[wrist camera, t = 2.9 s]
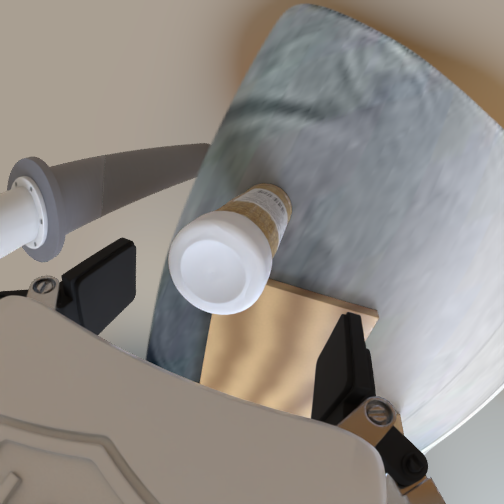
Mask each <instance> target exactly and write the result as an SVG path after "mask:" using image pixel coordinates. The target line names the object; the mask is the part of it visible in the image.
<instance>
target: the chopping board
mask: <svg viewBox="0 0 504 504" xmlns="http://www.w3.org/2000/svg"><path fill="white" fill-rule="evenodd" d="M347 312H351V313H354V314H358V315H360V316H361V320H362V326H363V332H364V338H365V341H366V339H367V338H368V336H369V334H370V333H371V331H372V329H373V328H374V326H375V324H376V323H377V321H378V319H379V316H378V312H377V310H373V309H370V308H366V307H363V306H359V305H356V304H353V303H349V302H346V301H342V300H339V299H335V298H332V297H329V296H325V295H322V294H318V293H315V292H312V291H308V290H305V289H302V288H298V287H295V286H292V285H288V284H285V283H282V282H279V281H275V280H272V279H269V278H268V281H267V283H266V285H265V287H264V290H263V292H262V294H261V295H260V297H259V298H258V300H257V301H256V302H255V303H254V304H253V305H252V306H250V307H249V308H247V309H246V310H244V311H241V312H238V313H235V314H229V315H219V314H213V313H212V317H211V322H210V327H209V333H208V338H207V344H206V349H205V355H204V361H203V367H202V372H201V378H200V384H201V385H204V386H207V387H209V388H212V389H215V390H217V391H220V392H223V393H226V394H229V395H232V396H235V397H238V398H241V399H244V400H247V401H250V402H253V403H257V404H260V405H263V406H267V407H270V408H273V409H277V410H280V411H284V412H288V413H291V414H295V415H299V416H303V417H307V418H311V412H312V402H313V392H314V381H315V369H316V362H317V359H318V357H319V355H320V353H321V352H322V350H323V348H324V346H325V344H326V343H327V341H328V339H329V337H330V335H331V333H332V331H333V329H334V328H335V326H336V324H337V322H338V320H339V318H340V316H341V315H342V314H346V313H347Z"/></svg>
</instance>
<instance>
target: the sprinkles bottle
mask: <svg viewBox="0 0 504 504" xmlns="http://www.w3.org/2000/svg"><path fill="white" fill-rule="evenodd" d="M291 213H292V207H291V202H290V199H289V197H288V196H287V194H286V193H285V192H284V191H283V190H282V189H281V188H279V187H277V186H275V185H273V184H266V183H263V184H257V185H255V186H253V187H251V188H250V189H248V190H247V191H246V192H245V193H243V194H240V195H238V196H237V197H235V198H233V199H232V200H230V201H229V202H228V203H227V204H225V205H224V206H222V207H221V208H219V209H217V210H216V211H213V212H209V213H206V214H204V215H202V216H200V217H198V218H197V219H195V220H194V221H192V222H190V223H189V224H188V225H186V226H185V227H184V228H183V229H181V230H180V231H179V232H178V234H177V235H176V237H175V238H174V240H173V242H172V244H171V246H170V250H169V256H168V265H169V271H170V275H171V277H172V280H173V282H174V284H175V286H176V288H177V289H178V291H179V292H180V293H181V294H182V296H183V297H184V298H185V299H186V300H188V301H189V302H190V303H191V304H192V305H194V306H195V307H197V308H199V309H201V310H203V311H206V312H209V313H213V314H219V315H229V314H235V313H238V312H241V311H244V310H246V309H247V308H249V307H250V306H252V305H253V304H254V303H255V302H256V301H257V300H258V298H259V297H260V295H261V294H262V292H263V290H264V287H265V285H266V283H267V281H268V278H269V275H270V272H271V267H272V259H273V257H274V255H275V253H276V251H277V249H278V247H279V244H280V242H281V239H282V237H283V234H284V232H285V229H286V226H287V224H288V222H289V220H290V218H291Z"/></svg>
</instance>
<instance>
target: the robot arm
mask: <svg viewBox="0 0 504 504" xmlns="http://www.w3.org/2000/svg"><path fill="white" fill-rule="evenodd" d="M47 232H48V218H47V211H46V206H45V202H44V199H43V196H42V194H41V191H40V189H39V188H38V186H37V184H36V183H35V182H34V180H32V179H31V178H30V177H28V176H22V177H19V178H17V179H16V180H15V181H14V182H13V185H12V187H11V190H8V191H6V192H3V193H0V258H2V257H4V256H6V255H7V254H9V253H11V252H12V251H14V250H16V249H18V248H20V247H21V246H23V245H26V246H27V247H29V248H31V249H36V248H39V247H40V246H42V245H43V244H44V242H45V240H46V237H47ZM135 295H136V246H135V245H134V243H133V241H130V240H128V239H125V238H120V239H118V240H117V241H115V242H113V243H112V244H110V245H108V246H107V247H105V248H103V249H102V250H100V251H99V252H97V253H95V254H94V255H92V256H91V257H89V258H87V259H86V260H84V261H83V262H81V263H80V264H78V265H77V266H75V267H74V268H72V269H71V270H69V271H67V272H66V273H65V274H63V275H62V281H61V282H60V283H59V281H58V279H57V278H55V277H53V276H41V277H38V278H36V279H35V280H34V281H33V282H32V283H31V284H30V287H29V290H17V291H2V292H0V504H446V503H445V501H444V500H443V498H442V496H441V494H440V492H439V491H438V489H437V487H436V486H435V483H434V482H433V480H432V478H431V477H430V478H427V477H426V473H427V469H428V463H427V460H426V457H425V456H424V455H423V453H422V452H421V451H420V450H418V449H417V448H416V447H415V446H414V445H413V444H412V443H411V442H410V441H409V440H408V439H407V438H406V437H405V436H404V435H403V434H402V433H401V432H400V431H399V430H398V429H397V428H396V427H395V426H394V423H395V421H396V411H395V409H394V407H393V405H392V404H391V403H390V402H389V401H387V400H386V399H384V398H381V397H377V396H376V393H375V384H374V376H373V368H372V361H371V354H370V351H369V349H366V345H365V338H364V332H363V326H362V320H361V316H360V315H358V314H354V313H351V312H347V313H346V314H342V315H341V316H340V318H339V320H338V322H337V324H336V326H335V328H334V329H333V331H332V333H331V335H330V337H329V339H328V341H327V343H326V344H325V346H324V348H323V350H322V352H321V353H320V355H319V357H318V359H317V362H316V369H315V381H314V392H313V402H312V412H311V419H310V418H307V417H303V416H299V415H295V414H291V413H288V412H284V411H280V410H277V409H273V408H270V407H267V406H263V405H260V404H257V403H253V402H250V401H247V400H244V399H241V398H238V397H235V396H232V395H229V394H226V393H223V392H220V391H217V390H215V389H212V388H209V387H207V386H204V385H201V384H199V383H196V382H194V381H191V380H189V379H186V378H184V377H181V376H179V375H177V374H174V373H172V372H170V371H167V370H165V369H163V368H161V367H159V366H156V365H154V364H152V363H150V362H148V361H146V360H144V359H141V358H139V357H137V356H135V355H133V354H131V353H129V352H127V351H125V350H124V349H122V348H120V347H118V346H116V345H114V344H112V343H110V342H108V341H107V340H105V339H103V338H101V337H99V336H98V335H99V333H100V332H102V331H103V329H105V327H106V326H107V325H108V324H110V322H112V321H113V320H114V319H115V317H117V316H118V315H119V314H120V313H121V312H122V311H123V310H124V308H126V307H127V306H128V305H129V304H130V303H131V302H132V301H133V300H134V298H135Z"/></svg>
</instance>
